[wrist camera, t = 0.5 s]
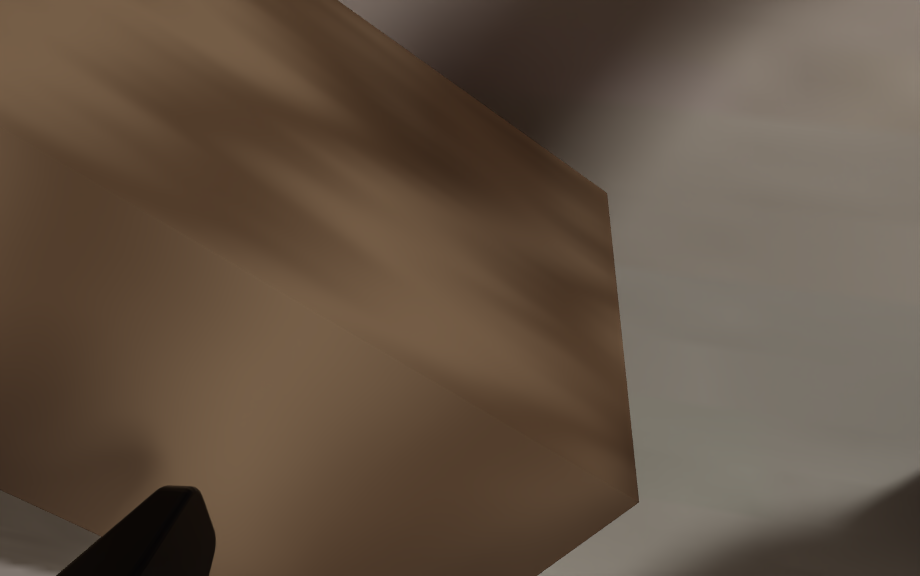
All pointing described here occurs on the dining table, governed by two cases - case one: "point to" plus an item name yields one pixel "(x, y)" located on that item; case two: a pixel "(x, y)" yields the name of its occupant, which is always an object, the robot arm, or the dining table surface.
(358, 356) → the wooden block
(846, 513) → the dining table surface
